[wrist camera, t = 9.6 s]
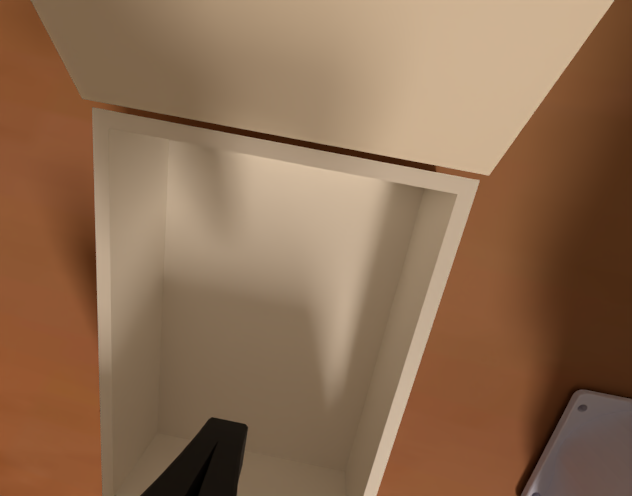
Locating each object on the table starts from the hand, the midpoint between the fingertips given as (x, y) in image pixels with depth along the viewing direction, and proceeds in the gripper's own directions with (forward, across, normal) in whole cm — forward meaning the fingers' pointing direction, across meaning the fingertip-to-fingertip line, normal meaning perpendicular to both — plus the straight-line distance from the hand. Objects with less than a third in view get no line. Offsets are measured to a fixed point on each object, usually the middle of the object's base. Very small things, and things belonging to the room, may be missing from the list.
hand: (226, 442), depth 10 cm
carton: (+7, 0, 0) cm, 7 cm away
